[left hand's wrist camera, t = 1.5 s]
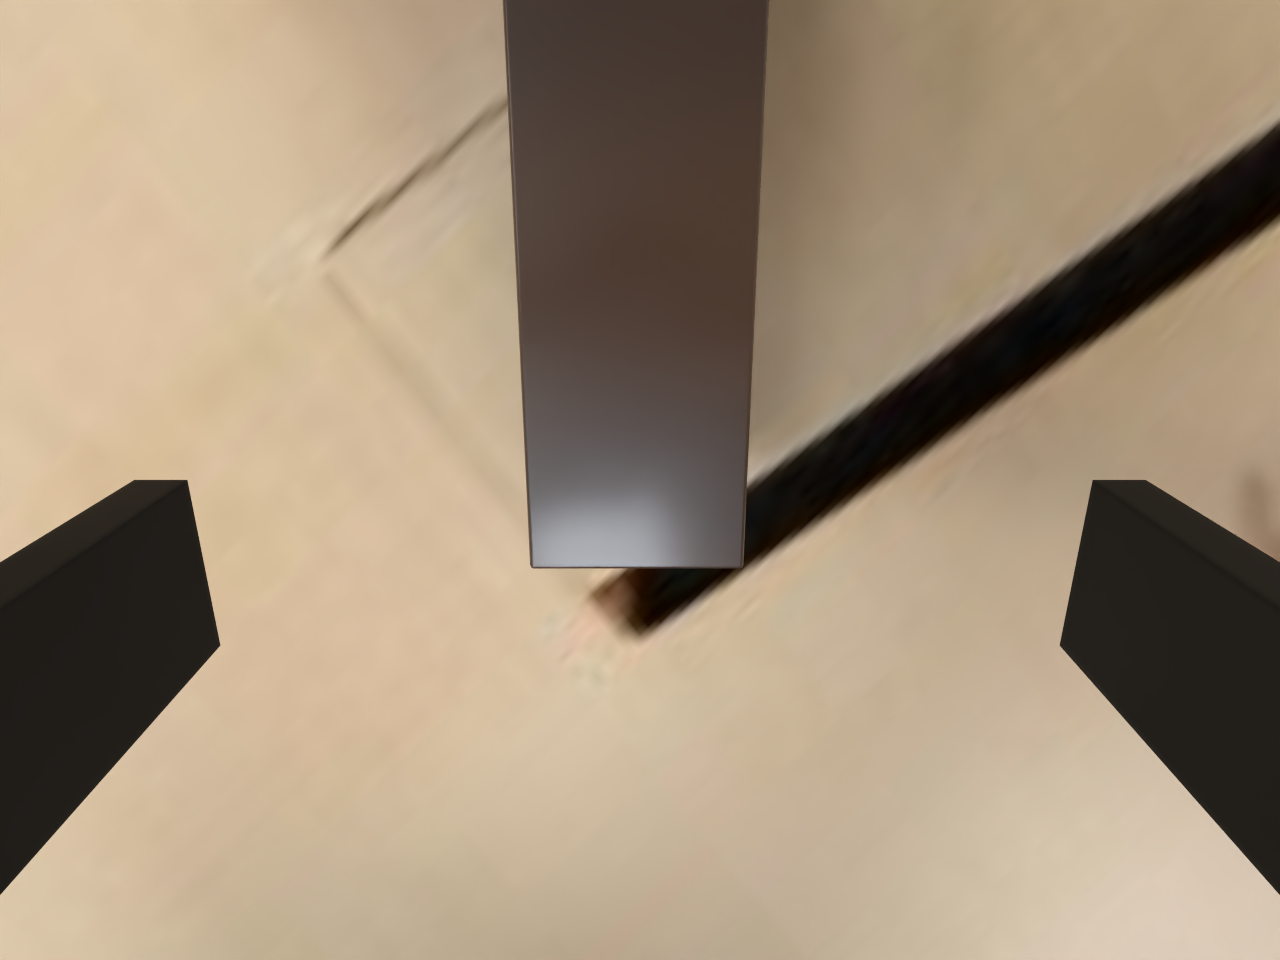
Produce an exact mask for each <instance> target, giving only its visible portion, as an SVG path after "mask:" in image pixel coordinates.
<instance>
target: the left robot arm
mask: <svg viewBox="0 0 1280 960" xmlns="http://www.w3.org/2000/svg"><path fill="white" fill-rule="evenodd" d="M219 646H220V642H219V637H218V632H217V627H216V622H215V617H214V612H213V607H212V602H211V597H210V592H209V587H208V582H207V577H206V572H205V567H204V562H203V557H202V552H201V547H200V542H199V537H198V532H197V527H196V521H195V516H194V511H193V506H192V501H191V496H190V491H189V486H188V481H187V480H134V481H132V482H130V483H129V484H127V485H126V486H124V487H122V488H121V489H119V490H117V491H116V492H114V493H113V494H111V495H109V496H108V497H106V498H104V499H103V500H101V501H99V502H98V503H96V504H95V505H93V506H91V507H90V508H88V509H86V510H85V511H83V512H82V513H80V514H78V515H77V516H75V517H73V518H72V519H70V520H68V521H67V522H65V523H64V524H62V525H60V526H59V527H57V528H55V529H54V530H52V531H51V532H49V533H47V534H46V535H44V536H42V537H41V538H39V539H38V540H36V541H34V542H33V543H31V544H29V545H28V546H26V547H24V548H23V549H21V550H20V551H18V552H16V553H15V554H13V555H11V556H10V557H8V558H7V559H5V560H3V561H2V562H0V894H1V893H2V892H3V891H4V890H5V889H6V888H7V887H8V885H9V884H10V883H11V882H12V881H13V880H14V879H15V877H16V876H17V875H18V874H19V873H20V872H21V871H22V870H23V868H24V867H25V866H26V865H27V864H28V863H29V862H30V860H31V859H32V858H33V857H34V856H35V855H36V854H37V853H38V851H39V850H40V849H41V848H42V847H43V846H44V845H45V843H46V842H47V841H48V840H49V839H50V838H51V837H52V836H53V834H54V833H55V832H56V831H57V830H58V829H59V828H60V826H61V825H62V824H63V823H64V822H65V821H66V820H67V819H68V817H69V816H70V815H71V814H72V813H73V812H74V811H75V809H76V808H77V807H78V806H79V805H80V804H81V803H82V802H83V800H84V799H85V798H86V797H87V796H88V795H89V794H90V792H91V791H92V790H93V789H94V788H95V787H96V786H97V785H98V783H99V782H100V781H101V780H102V779H103V778H104V777H105V775H106V774H107V773H108V772H109V771H110V770H111V769H112V768H113V766H114V765H115V764H116V763H117V762H118V761H119V760H120V758H121V757H122V756H123V755H124V754H125V753H126V752H127V751H128V749H129V748H130V747H131V746H132V745H133V744H134V743H135V741H136V740H137V739H138V738H139V737H140V736H141V735H142V734H143V732H144V731H145V730H146V729H147V728H148V727H149V726H150V724H151V723H152V722H153V721H154V720H155V719H156V718H157V717H158V715H159V714H160V713H161V712H162V711H163V710H164V709H165V707H166V706H167V705H168V704H169V703H170V702H171V701H172V700H173V698H174V697H175V696H176V695H177V694H178V693H179V692H180V690H181V689H182V688H183V687H184V686H185V685H186V684H187V683H188V681H189V680H190V679H191V678H192V677H193V676H194V675H195V674H196V672H197V671H198V670H199V669H200V668H201V667H202V666H203V664H204V663H205V662H206V661H207V660H208V659H209V658H210V657H211V655H212V654H213V653H214V652H215V651H216V650H217V649H218V647H219ZM1060 646H1061V647H1062V649H1063V650H1064V651H1065V652H1066V653H1067V654H1068V655H1069V657H1070V658H1071V659H1072V660H1073V661H1074V662H1075V663H1076V664H1077V666H1078V667H1079V668H1080V669H1081V670H1082V671H1083V672H1084V674H1085V675H1086V676H1087V677H1088V678H1089V679H1090V680H1091V681H1092V683H1093V684H1094V685H1095V686H1096V687H1097V688H1098V689H1099V691H1100V692H1101V693H1102V694H1103V695H1104V696H1105V697H1106V698H1107V700H1108V701H1109V702H1110V703H1111V704H1112V705H1113V706H1114V707H1115V709H1116V710H1117V711H1118V712H1119V713H1120V714H1121V715H1122V717H1123V718H1124V719H1125V720H1126V721H1127V722H1128V723H1129V724H1130V726H1131V727H1132V728H1133V729H1134V730H1135V731H1136V732H1137V734H1138V735H1139V736H1140V737H1141V738H1142V739H1143V740H1144V741H1145V743H1146V744H1147V745H1148V746H1149V747H1150V748H1151V749H1152V751H1153V752H1154V753H1155V754H1156V755H1157V756H1158V757H1159V758H1160V760H1161V761H1162V762H1163V763H1164V764H1165V765H1166V766H1167V768H1168V769H1169V770H1170V771H1171V772H1172V773H1173V774H1174V775H1175V777H1176V778H1177V779H1178V780H1179V781H1180V782H1181V783H1182V785H1183V786H1184V787H1185V788H1186V789H1187V790H1188V791H1189V792H1190V794H1191V795H1192V796H1193V797H1194V798H1195V799H1196V800H1197V802H1198V803H1199V804H1200V805H1201V806H1202V807H1203V808H1204V809H1205V811H1206V812H1207V813H1208V814H1209V815H1210V816H1211V817H1212V819H1213V820H1214V821H1215V822H1216V823H1217V824H1218V825H1219V826H1220V828H1221V829H1222V830H1223V831H1224V832H1225V833H1226V834H1227V836H1228V837H1229V838H1230V839H1231V840H1232V841H1233V842H1234V843H1235V845H1236V846H1237V847H1238V848H1239V849H1240V850H1241V851H1242V853H1243V854H1244V855H1245V856H1246V857H1247V858H1248V859H1249V860H1250V862H1251V863H1252V864H1253V865H1254V866H1255V867H1256V868H1257V870H1258V871H1259V872H1260V873H1261V874H1262V875H1263V876H1264V877H1265V879H1266V880H1267V881H1268V882H1269V883H1270V884H1271V885H1272V887H1273V888H1274V889H1275V890H1276V891H1277V892H1278V893H1279V894H1280V562H1278V561H1277V560H1275V559H1273V558H1272V557H1270V556H1269V555H1267V554H1265V553H1264V552H1262V551H1260V550H1259V549H1257V548H1256V547H1254V546H1252V545H1251V544H1249V543H1247V542H1246V541H1244V540H1242V539H1241V538H1239V537H1238V536H1236V535H1234V534H1233V533H1231V532H1229V531H1228V530H1226V529H1225V528H1223V527H1221V526H1220V525H1218V524H1216V523H1215V522H1213V521H1212V520H1210V519H1208V518H1207V517H1205V516H1203V515H1202V514H1200V513H1198V512H1197V511H1195V510H1194V509H1192V508H1190V507H1189V506H1187V505H1185V504H1184V503H1182V502H1181V501H1179V500H1177V499H1176V498H1174V497H1172V496H1171V495H1169V494H1167V493H1166V492H1164V491H1163V490H1161V489H1159V488H1158V487H1156V486H1154V485H1153V484H1151V483H1150V482H1148V481H1146V480H1093V481H1092V486H1091V491H1090V496H1089V501H1088V506H1087V511H1086V516H1085V521H1084V526H1083V532H1082V537H1081V542H1080V547H1079V552H1078V557H1077V562H1076V567H1075V572H1074V577H1073V582H1072V587H1071V592H1070V597H1069V602H1068V607H1067V612H1066V617H1065V622H1064V627H1063V632H1062V637H1061V642H1060Z"/></svg>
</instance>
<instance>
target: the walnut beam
mask: <svg viewBox="0 0 1280 960" xmlns="http://www.w3.org/2000/svg"><path fill="white" fill-rule="evenodd" d="M768 10H769V0H503V12H504V33H505V53H506V74H507V94H508V115H509V136H510V156H511V177H512V198H513V218H514V239H515V260H516V280H517V301H518V322H519V342H520V363H521V383H522V404H523V425H524V445H525V466H526V487H527V507H528V528H529V549H530V565H531V567H532V568H742V566H743V555H744V534H745V512H746V490H747V468H748V446H749V424H750V403H751V381H752V359H753V337H754V315H755V293H756V272H757V250H758V228H759V206H760V184H761V162H762V141H763V119H764V97H765V75H766V53H767V31H768Z"/></svg>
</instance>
